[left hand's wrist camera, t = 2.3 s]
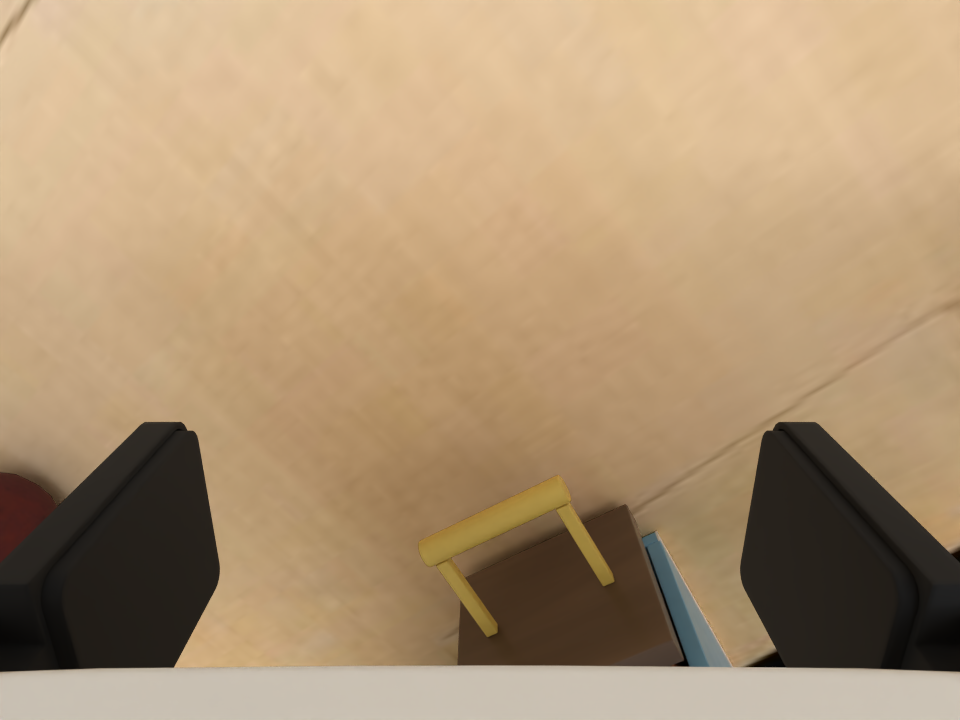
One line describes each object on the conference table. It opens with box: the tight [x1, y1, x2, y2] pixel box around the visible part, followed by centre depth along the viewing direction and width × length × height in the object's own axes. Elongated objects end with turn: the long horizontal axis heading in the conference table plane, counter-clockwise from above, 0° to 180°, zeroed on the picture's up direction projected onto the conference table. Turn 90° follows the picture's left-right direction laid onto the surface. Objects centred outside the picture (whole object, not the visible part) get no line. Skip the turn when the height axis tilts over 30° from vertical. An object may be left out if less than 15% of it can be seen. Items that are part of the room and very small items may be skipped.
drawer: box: [418, 475, 689, 667], centre depth 33 cm, size 23×10×9 cm, turn 30°
